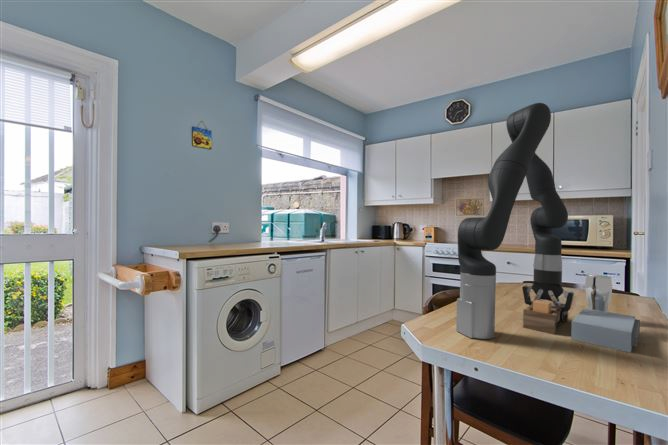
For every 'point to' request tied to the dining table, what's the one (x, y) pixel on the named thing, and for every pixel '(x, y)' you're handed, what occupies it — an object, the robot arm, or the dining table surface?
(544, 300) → the crate cream
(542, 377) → the dining table surface
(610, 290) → the beer glass
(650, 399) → the dining table surface
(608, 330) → the block
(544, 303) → the orange cube
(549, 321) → the brown wooden box
